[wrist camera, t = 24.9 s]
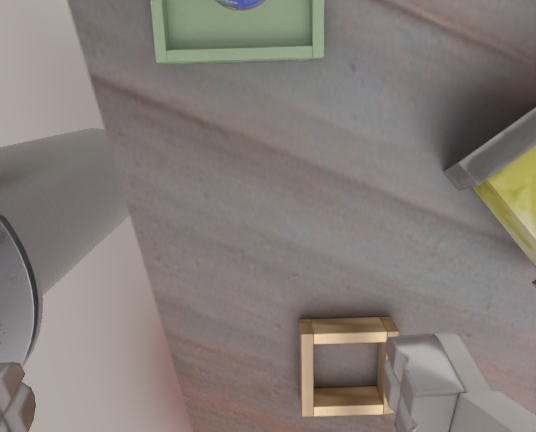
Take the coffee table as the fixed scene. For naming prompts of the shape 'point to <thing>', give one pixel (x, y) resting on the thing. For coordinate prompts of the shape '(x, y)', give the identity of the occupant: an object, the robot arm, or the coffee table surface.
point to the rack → (343, 397)
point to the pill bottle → (240, 4)
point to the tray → (237, 31)
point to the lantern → (506, 179)
